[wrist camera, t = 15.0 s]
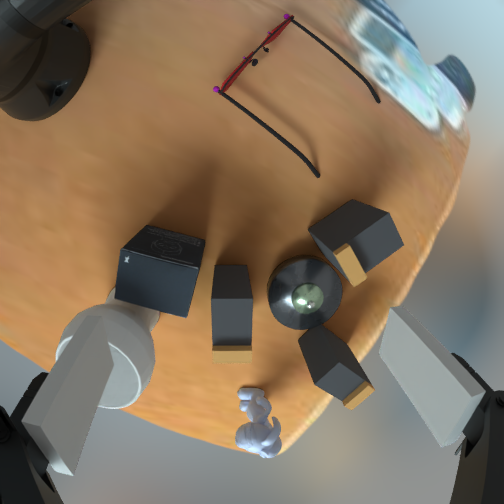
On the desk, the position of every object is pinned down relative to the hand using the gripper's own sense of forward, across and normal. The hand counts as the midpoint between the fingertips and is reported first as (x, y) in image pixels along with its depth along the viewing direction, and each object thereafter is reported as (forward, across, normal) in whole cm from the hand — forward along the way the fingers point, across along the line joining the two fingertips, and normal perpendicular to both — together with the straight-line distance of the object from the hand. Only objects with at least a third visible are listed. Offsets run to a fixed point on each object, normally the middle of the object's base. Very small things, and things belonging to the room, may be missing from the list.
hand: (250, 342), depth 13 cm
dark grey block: (+25, +13, -18) cm, 34 cm away
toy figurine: (+25, +3, -29) cm, 38 cm away
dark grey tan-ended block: (+26, +14, -1) cm, 29 cm away
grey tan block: (+26, 0, -10) cm, 28 cm away
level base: (+26, +9, -10) cm, 29 cm away
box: (+26, -8, -5) cm, 28 cm away
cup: (+26, -14, -13) cm, 32 cm away
